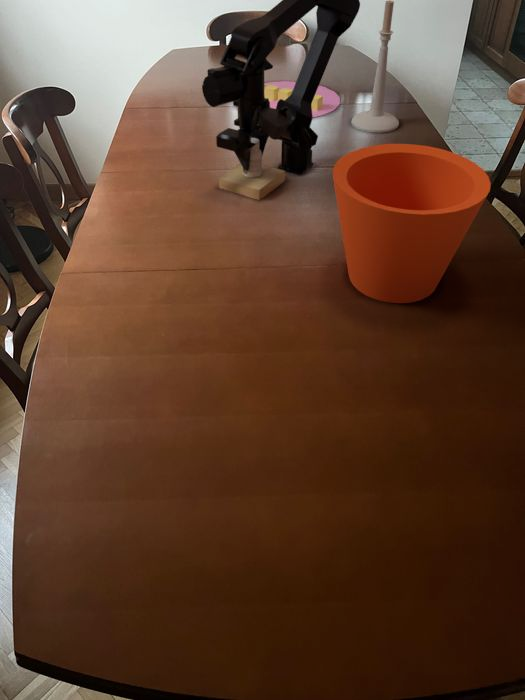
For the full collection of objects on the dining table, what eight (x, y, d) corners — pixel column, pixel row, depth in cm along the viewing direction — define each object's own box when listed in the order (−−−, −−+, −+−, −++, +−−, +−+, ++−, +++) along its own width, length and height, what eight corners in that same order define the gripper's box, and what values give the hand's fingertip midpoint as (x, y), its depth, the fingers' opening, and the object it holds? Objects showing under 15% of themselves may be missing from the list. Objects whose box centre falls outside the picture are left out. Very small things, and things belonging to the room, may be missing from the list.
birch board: (218, 188, 135) (218, 177, 133) (245, 169, 142) (245, 159, 140) (259, 200, 130) (259, 189, 129) (284, 180, 137) (285, 170, 136)
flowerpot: (321, 239, 118) (328, 143, 105) (447, 241, 117) (470, 144, 104) (328, 318, 100) (337, 213, 86) (477, 320, 99) (510, 215, 86)
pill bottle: (242, 170, 136) (241, 137, 131) (261, 169, 136) (260, 136, 131) (243, 178, 133) (242, 145, 127) (262, 177, 133) (262, 144, 128)
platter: (307, 128, 160) (307, 116, 157) (211, 106, 173) (211, 94, 170) (358, 93, 180) (359, 81, 177) (269, 75, 192) (269, 64, 190)
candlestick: (403, 118, 165) (422, -4, 144) (391, 135, 156) (409, 7, 136) (359, 112, 169) (372, -9, 148) (345, 128, 160) (356, 2, 140)
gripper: (259, 117, 114) (260, 191, 124) (306, 88, 125) (303, 158, 136) (212, 106, 118) (217, 179, 129) (262, 79, 130) (262, 148, 140)
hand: (252, 166), depth 133 cm, fingers closed on pill bottle, 4 cm apart
